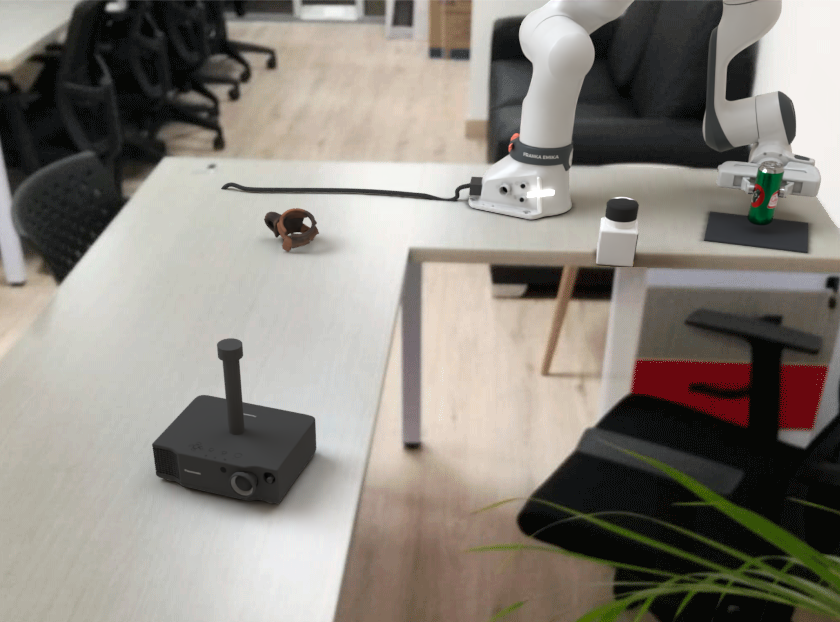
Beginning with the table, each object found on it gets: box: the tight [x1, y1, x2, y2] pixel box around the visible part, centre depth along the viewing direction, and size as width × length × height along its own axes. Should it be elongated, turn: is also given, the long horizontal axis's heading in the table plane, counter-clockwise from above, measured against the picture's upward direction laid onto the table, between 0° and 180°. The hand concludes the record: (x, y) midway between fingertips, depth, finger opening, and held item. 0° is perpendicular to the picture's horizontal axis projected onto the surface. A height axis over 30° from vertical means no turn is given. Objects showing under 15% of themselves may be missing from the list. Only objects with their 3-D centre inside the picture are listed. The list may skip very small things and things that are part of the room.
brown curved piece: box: [263, 207, 320, 253], centre depth 220 cm, size 12×10×8 cm
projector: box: [151, 337, 317, 505], centre depth 150 cm, size 19×17×20 cm
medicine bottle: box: [595, 196, 640, 268], centre depth 210 cm, size 7×7×12 cm
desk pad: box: [703, 211, 809, 254], centre depth 224 cm, size 20×16×1 cm
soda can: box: [746, 161, 784, 225], centre depth 219 cm, size 5×5×12 cm
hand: (766, 192), depth 218 cm, fingers closed on soda can, 5 cm apart
